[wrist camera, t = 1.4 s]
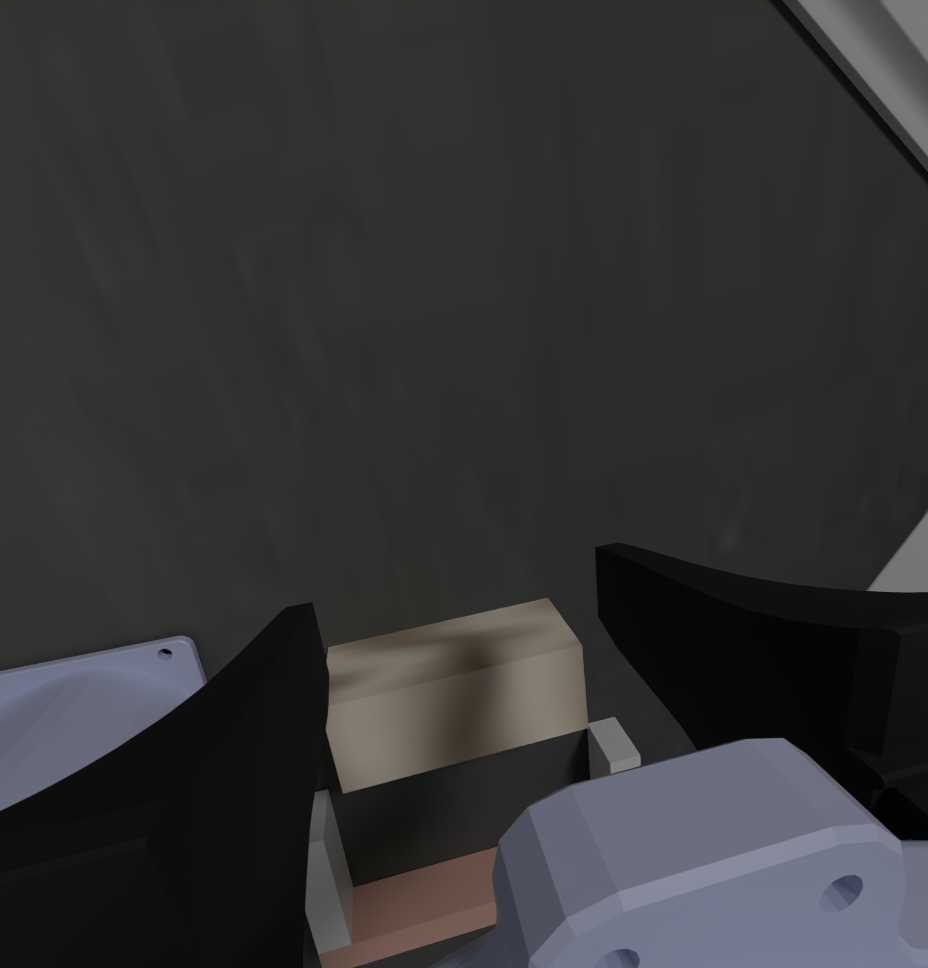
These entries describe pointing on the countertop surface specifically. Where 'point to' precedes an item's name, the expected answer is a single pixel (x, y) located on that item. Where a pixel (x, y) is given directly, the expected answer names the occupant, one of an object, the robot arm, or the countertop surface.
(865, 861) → the robot arm
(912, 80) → the baseboard molding
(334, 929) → the block with end panels
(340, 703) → the slat block
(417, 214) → the countertop surface
